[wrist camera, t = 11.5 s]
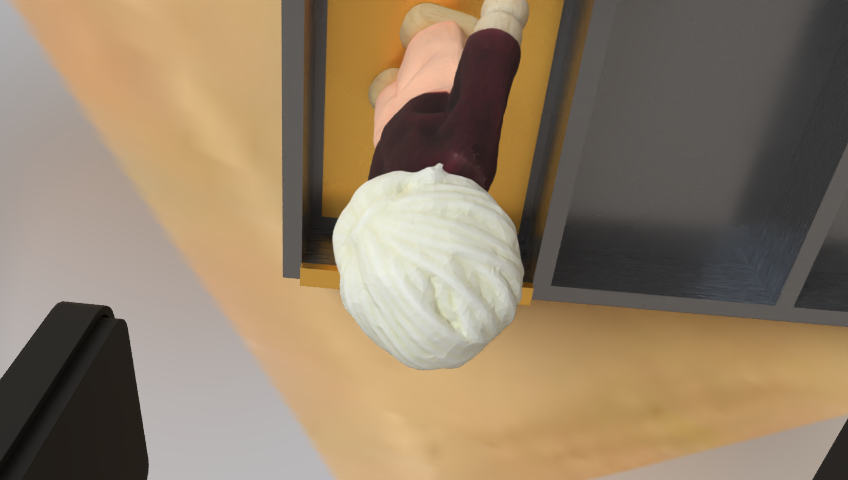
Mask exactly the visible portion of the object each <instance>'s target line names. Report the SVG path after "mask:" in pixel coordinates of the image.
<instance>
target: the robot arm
mask: <svg viewBox="0 0 848 480" xmlns="http://www.w3.org/2000/svg"><path fill="white" fill-rule="evenodd" d="M148 468H149V463H148V455H147V449H146V442H145V435H144V429H143V423H142V416H141V410H140V403H139V397H138V391H137V384H136V379H135V372H134V365H133V358H132V352H131V346H130V340H129V333H128V327H127V323H126V322H125V320H123V319H115V317H114V314H113V311H112V309H111V308H110V307H108V306H104V305H93V304H83V303H73V302H64V301H62V302H60V303H57V305H55V307H54V308H53V309H52V310H51V311H50V313H49V314H48V315H47V317H46V318H45V319H44V321H43V322H42V324H41V325H40V326H39V328H38V329H37V330H36V332H35V333H34V334H33V336H32V337H31V338H30V340H29V341H28V343H27V344H26V345H25V347H24V348H23V349H22V351H21V352H20V353H19V355H18V356H17V358H16V359H15V360H14V362H13V363H12V364H11V366H10V367H9V369H8V370H7V371H6V373H5V374H4V375H3V377H2V378H1V379H0V480H147V476H148ZM813 480H848V419H847V421H846V423H845V424H844V426H843V428H842V430H841V431H840V433H839V435H838V436H837V438H836V440H835V442H834V443H833V445H832V447H831V449H830V450H829V452H828V454H827V455H826V457H825V459H824V461H823V462H822V464H821V466H820V467H819V469H818V471H817V473H816V474H815V476H814V478H813Z"/></svg>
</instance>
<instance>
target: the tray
mask: <svg viewBox="0 0 848 480" xmlns="http://www.w3.org/2000/svg"><path fill="white" fill-rule="evenodd" d="M484 1H485V0H282V185H283V277H285V278H296V279H300V286H310V287H321V288H333V289H340V273H339V271H338V268H337V265H336V261H335V256H334V250H333V231H334V228H335V225H336V223H337V220H338V218H339V217H340V215H341V213H342V211H343V210H344V209H345V208H346V206H347V205H348V204H349V202H350V200H351V199H352V197H353V195H354V193H355V192H356V190H357V189H358V188H359V187H360V186H361V185H363V184H364V183H365V182H367V181H368V176H369V172H370V166H371V163H372V158H373V154H374V151H375V148H374V141H373V138H374V114H375V109H374V108H373V107H372V105H371V103H370V101H369V98H368V91H369V87H370V85H371V83H372V82H373V80H374V79H375V78H376V77H377V76H378V75H379V74H380V73H381V72H383V71H384V70H387V69H390V68H399V69H400V66H401V64H402V61H403V58H404V55H405V52H406V49H405V48H404V47H403V45H402V43H401V40H400V28H401V26H402V23H403V21H404V18H405V16H406V14H407V13H408V12H409V11H410V10H411V9H412V8H413V7H414V6H416V5H419V4H422V3H431V4H435V5H439V6H443V7H446V8H448V9H452V10H455V11H459V12H462V13H465V14H468V15H471V16H474V17H476V18H478V19H481V8H482V5H483V3H484ZM526 1H527V3H528V5H529V17H528V21H527V23H526V26H525V27H524V29H523V30H522V43H521V47H520V49H521V59H520V64H519V68H518V71H517V73H516V75H515V78H514V80H513V83H512V86H511V90H510V94H509V97H508V102H507V107H506V110H505V114H504V117H503V125H502V129H501V137H500V142H499V152H498V160H497V171H496V175H495V178H494V180H493V183H492V184H491V186H490V189H489V191H488V193H489V194H490V195H491V196H492V197H493V199H494V200H495V201H496V202H497V204H498V205H499V206H500V207H501V208H502V209H503V210H504V212H505V213H506V214H507V215H508V216H509V217H510V219H511V220H512V222H513V223H514V225H515V228H516V232H517V239H518V244H519V250H520V256H521V262H522V265H523V267H524V276H523V285H522V298H521V300H520V302H519V304H518V305H527V306H530V304H531V299H536V300H547V301H559V302H570V303H581V304H593V305H604V306H616V307H627V308H638V309H650V310H661V311H673V312H684V313H695V314H707V315H718V316H730V317H741V318H753V319H764V320H775V321H787V322H798V323H810V324H821V325H832V326H844V327H848V0H526Z"/></svg>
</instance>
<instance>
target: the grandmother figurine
mask: <svg viewBox="0 0 848 480" xmlns="http://www.w3.org/2000/svg"><path fill="white" fill-rule="evenodd" d="M528 17H529V5H528V3H527V1H526V0H485V1H484V3H483V5H482V8H481V19H478V18H476V17H474V16H471V15H468V14H465V13H462V12H459V11H455V10H452V9H448V8H446V7H443V6H439V5H435V4H431V3H422V4H419V5H416V6H414V7H413V8H412V9H411V10H410V11H409V12H408V13H407V14H406V16H405V18H404V21H403V23H402V26H401V28H400V40H401V43H402V45H403V47H404V48H405V49H406V52H405V55H404V58H403V61H402V64H401V66H400V69H399V68H390V69H387V70H384V71H383V72H381V73H380V74H379V75H378V76H377V77H376V78H375V79H374V80H373V82H372V83H371V85H370V87H369V91H368V98H369V101H370V103H371V105H372V107H373V108H374V109H375V114H374V138H373V141H374V148H375V151H374V154H373V158H372V163H371V166H370V172H369V176H368V181H367V182H365V183H364V184H363V185H361V186H360V187H359V188H358V189H357V190H356V192H355V193H354V195H353V197H352V199H351V200H350V202H349V204H348V205H347V206H346V208H345V209H344V210H343V211H342V213H341V215H340V217H339V218H338V220H337V223H336V225H335V228H334V231H333V250H334V256H335V261H336V265H337V268H338V271H339V273H340V294H341V298H342V301H343V304H344V307H345V308H346V310H347V311H348V312H349V313H350V314H351V315H352V316H353V317H354V319H355V320H356V322H357V323H358V325H359V326H360V328H361V329H362V331H363V332H364V333H365V334H366V335H367V336H368V337H369V338H370V339H371V340H372V341H374V342H375V343H376V344H377V345H378V346H380V347H381V348H382V349H384V350H385V351H386V352H388V353H389V354H391V355H392V356H394V357H395V358H396V359H397V360H399V361H400V362H401V363H403V364H405V365H406V366H408V367H411V368H414V369H417V370H434V369H441V368H447V369H452V368H458V367H460V366H462V365H464V364H465V363H467V362H468V361H469V360H471V359H472V358H473V357H474V356H476V355H477V354H478V353H479V352H480V351H482V350H483V349H484V348H485V346H486V345H487V344H488V343H489V342H490V341H491V340H493V339H494V338H495V337H496V336H497V335H499V334H500V332H501V331H502V330H503V329H504V328H505V327H506V326H508V325H509V324H510V323H511V322H512V321H513V319H514V317H515V314H516V306H517V305H518V304H519V302H520V300H521V298H522V285H523V276H524V267H523V265H522V262H521V256H520V250H519V244H518V239H517V232H516V228H515V225H514V223H513V222H512V220H511V219H510V217H509V216H508V215H507V214H506V213H505V212H504V210H503V209H502V208H501V207H500V206H499V205H498V204H497V202H496V201H495V200H494V199H493V197H492V196H491V195H490V194H489V193H488V191H489V189H490V186H491V184H492V183H493V180H494V178H495V175H496V171H497V160H498V152H499V142H500V137H501V129H502V125H503V117H504V114H505V110H506V107H507V102H508V97H509V94H510V90H511V86H512V83H513V80H514V78H515V75H516V73H517V71H518V68H519V64H520V59H521V49H520V47H521V43H522V30H523V29H524V27H525V26H526V23H527V21H528Z"/></svg>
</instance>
